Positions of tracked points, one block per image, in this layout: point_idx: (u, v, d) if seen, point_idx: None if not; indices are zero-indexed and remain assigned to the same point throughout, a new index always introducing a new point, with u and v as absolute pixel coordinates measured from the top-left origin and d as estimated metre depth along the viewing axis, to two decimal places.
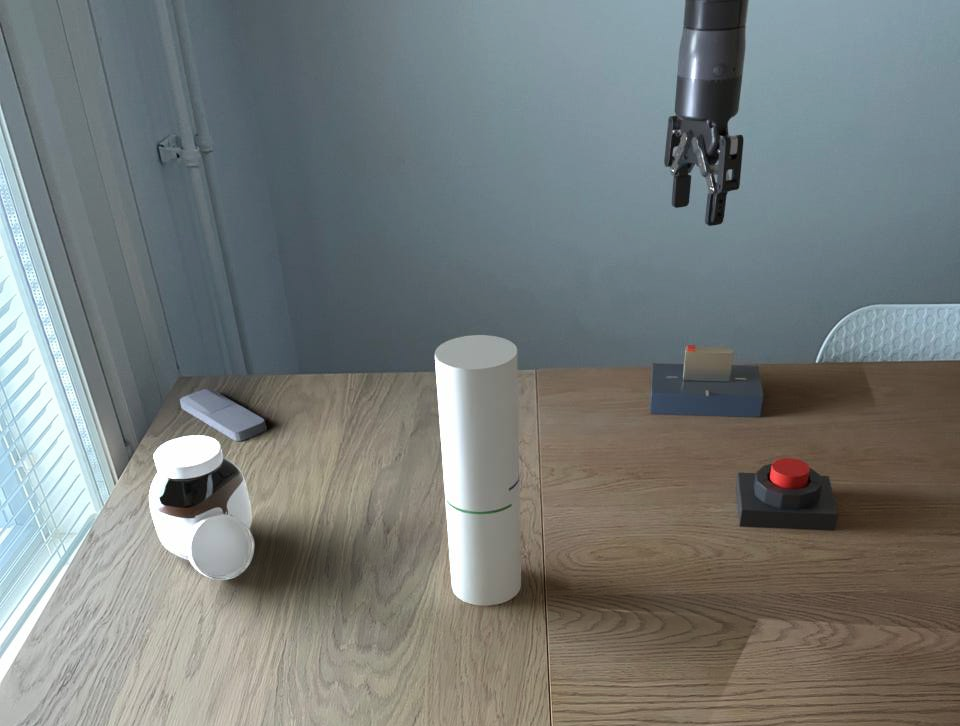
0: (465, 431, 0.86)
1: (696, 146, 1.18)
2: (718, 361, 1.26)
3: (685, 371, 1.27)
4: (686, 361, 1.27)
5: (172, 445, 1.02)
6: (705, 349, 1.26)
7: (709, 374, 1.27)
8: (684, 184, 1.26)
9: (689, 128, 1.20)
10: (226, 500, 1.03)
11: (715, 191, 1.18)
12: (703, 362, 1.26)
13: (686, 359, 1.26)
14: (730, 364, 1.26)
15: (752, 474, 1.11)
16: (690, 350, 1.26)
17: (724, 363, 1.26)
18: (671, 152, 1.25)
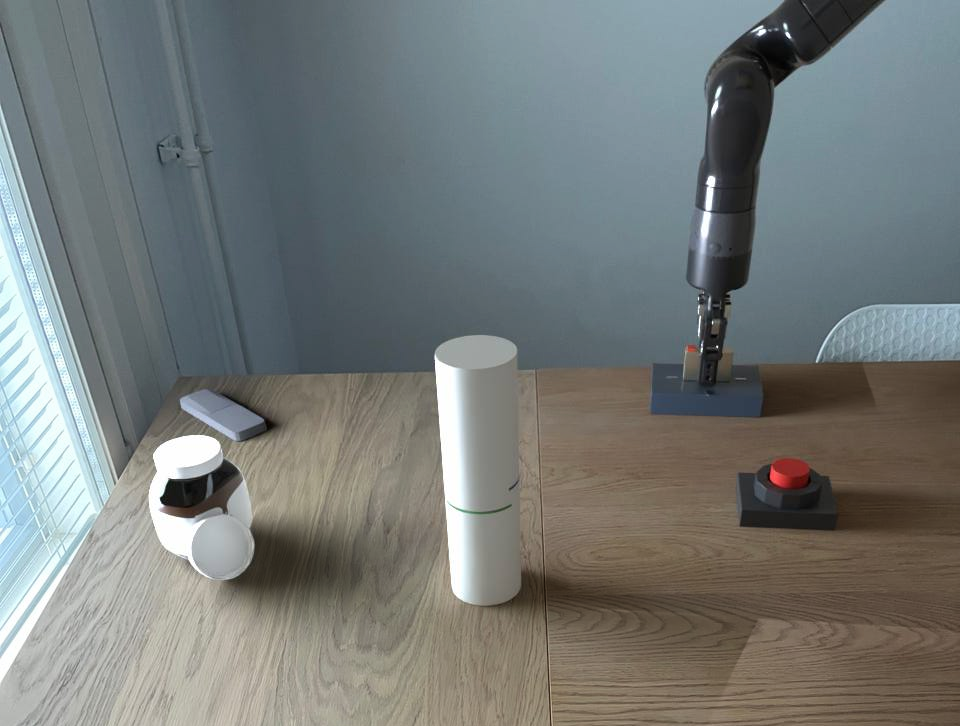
0: (465, 431, 0.86)
1: (698, 310, 1.22)
2: (718, 361, 1.26)
3: (685, 371, 1.27)
4: (686, 361, 1.27)
5: (172, 445, 1.02)
6: None
7: None
8: None
9: None
10: (226, 500, 1.03)
11: None
12: None
13: (686, 359, 1.26)
14: (730, 364, 1.26)
15: (752, 474, 1.11)
16: (690, 350, 1.26)
17: (724, 363, 1.26)
18: None
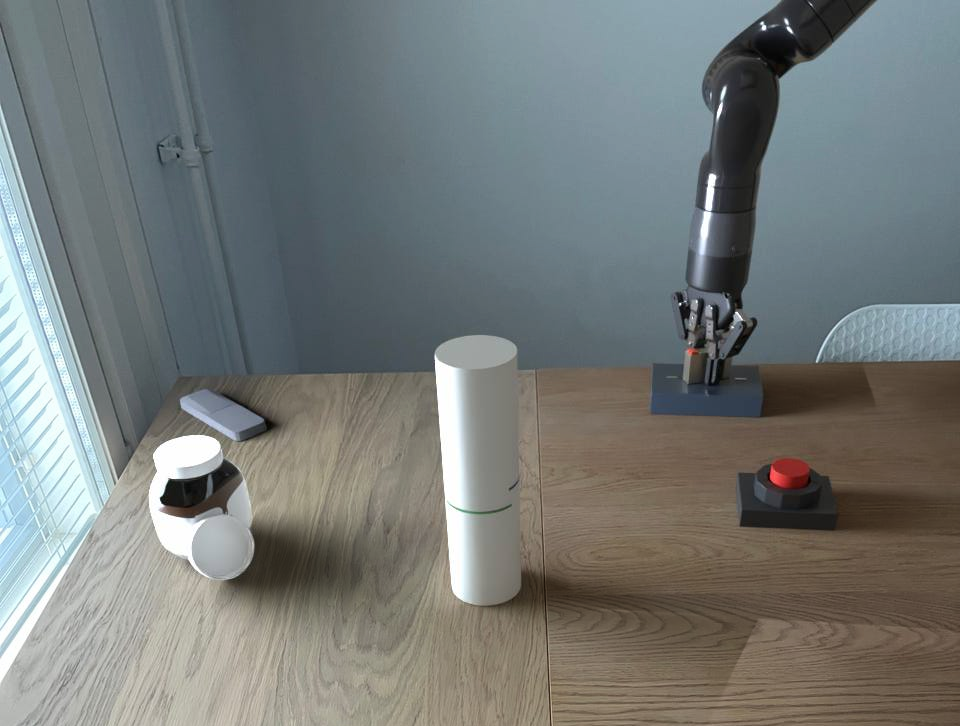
0: (465, 431, 0.86)
1: (711, 314, 1.20)
2: None
3: (690, 375, 1.27)
4: (691, 365, 1.26)
5: (172, 445, 1.02)
6: (706, 350, 1.26)
7: None
8: None
9: (698, 294, 1.22)
10: (226, 500, 1.03)
11: (716, 357, 1.24)
12: (706, 363, 1.26)
13: (691, 363, 1.25)
14: (730, 360, 1.27)
15: (752, 474, 1.11)
16: (694, 353, 1.25)
17: (725, 361, 1.27)
18: (683, 324, 1.26)
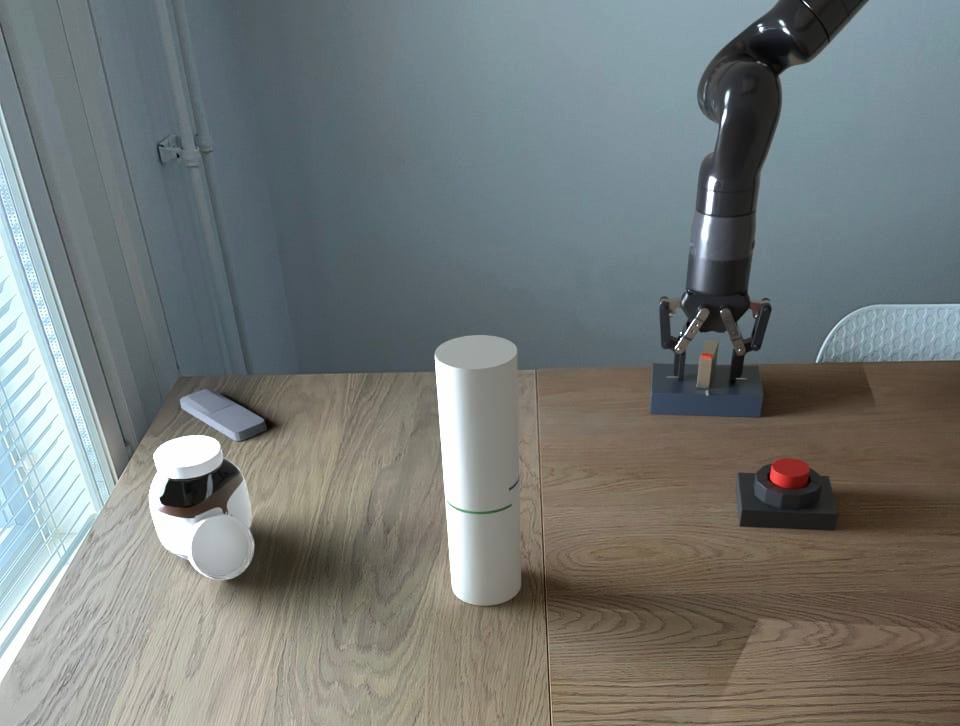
0: (465, 431, 0.86)
1: (729, 316, 1.21)
2: (716, 355, 1.27)
3: (710, 379, 1.25)
4: (711, 368, 1.25)
5: (172, 445, 1.02)
6: (710, 350, 1.25)
7: (713, 371, 1.28)
8: None
9: (702, 303, 1.21)
10: (226, 500, 1.03)
11: (744, 351, 1.24)
12: (713, 362, 1.26)
13: (711, 367, 1.24)
14: (717, 353, 1.29)
15: (752, 474, 1.11)
16: (711, 357, 1.24)
17: (716, 355, 1.28)
18: (670, 333, 1.24)
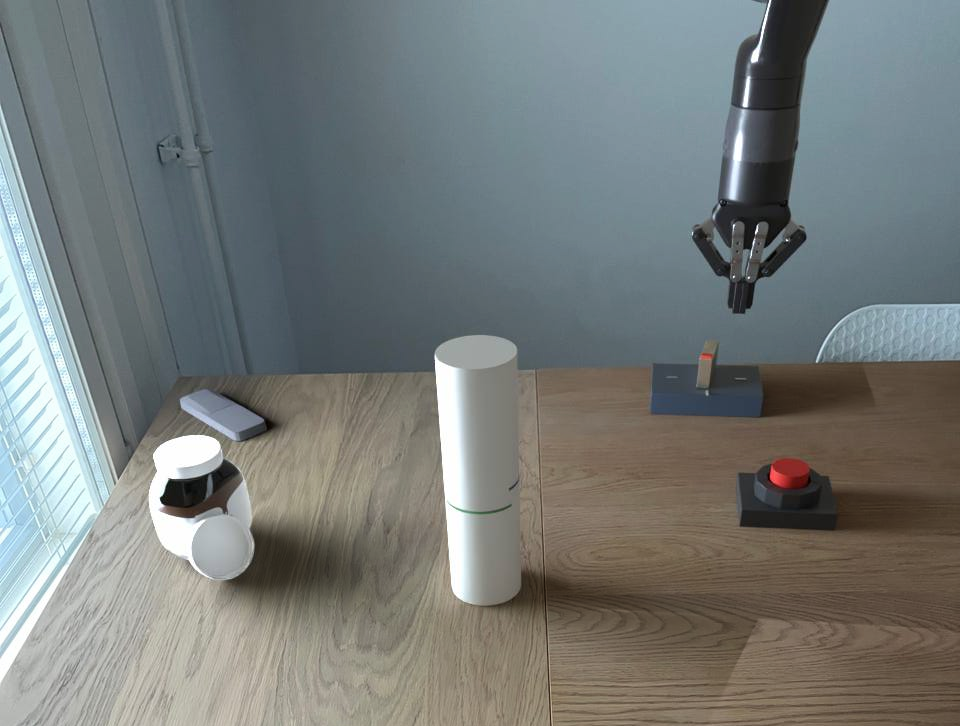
0: (465, 431, 0.86)
1: (766, 230, 1.07)
2: (716, 355, 1.27)
3: (710, 379, 1.25)
4: (711, 368, 1.25)
5: (172, 445, 1.02)
6: (710, 350, 1.25)
7: (713, 371, 1.28)
8: None
9: (736, 216, 1.07)
10: (226, 500, 1.03)
11: (755, 278, 1.11)
12: (713, 362, 1.26)
13: (711, 367, 1.24)
14: (717, 353, 1.29)
15: (752, 474, 1.11)
16: (711, 357, 1.24)
17: (716, 355, 1.28)
18: (719, 258, 1.10)
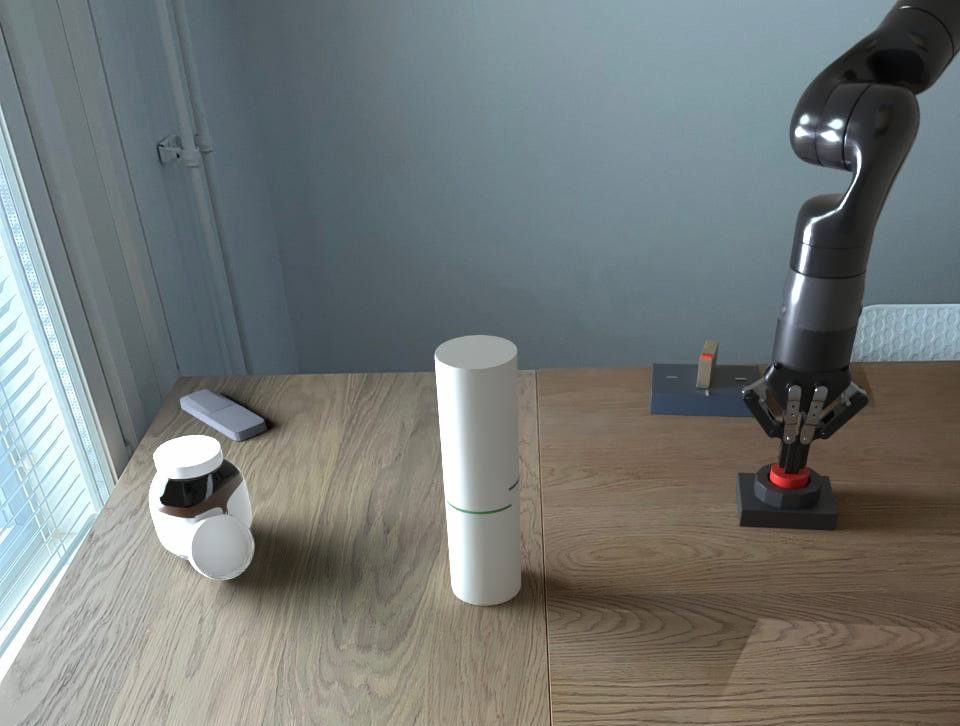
0: (465, 431, 0.86)
1: (825, 395, 0.98)
2: (716, 355, 1.27)
3: (710, 379, 1.25)
4: (711, 368, 1.25)
5: (172, 445, 1.02)
6: (710, 350, 1.25)
7: (713, 371, 1.28)
8: None
9: (792, 379, 0.98)
10: (226, 500, 1.03)
11: None
12: (713, 362, 1.26)
13: (711, 367, 1.24)
14: (717, 353, 1.29)
15: (752, 474, 1.11)
16: (711, 357, 1.24)
17: (716, 355, 1.28)
18: (771, 419, 1.02)
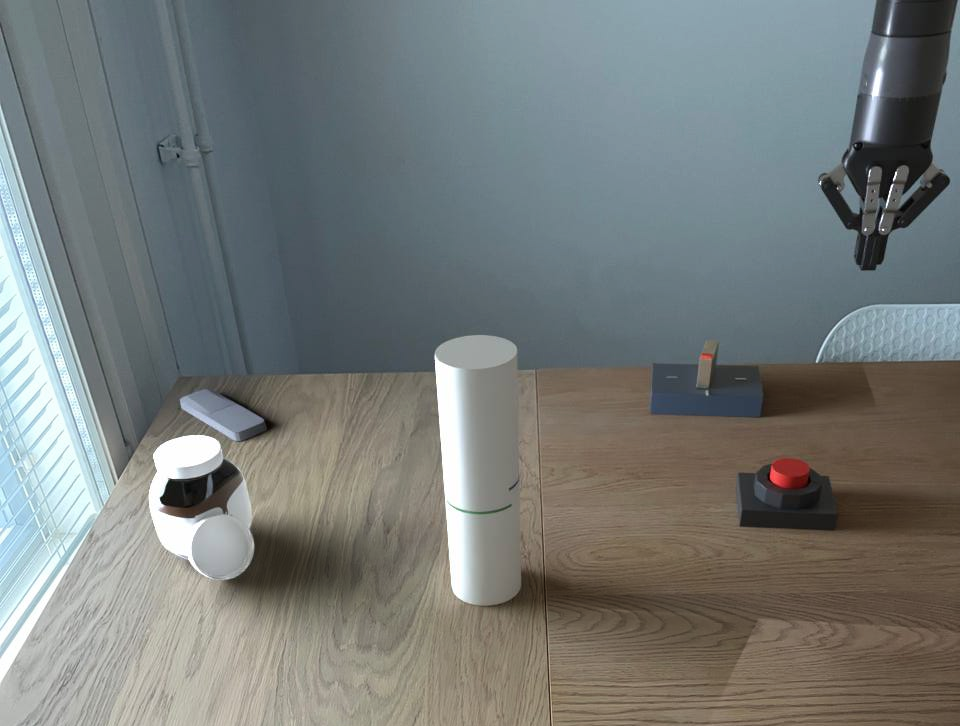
0: (465, 431, 0.86)
1: (906, 175, 0.97)
2: (716, 355, 1.27)
3: (710, 379, 1.25)
4: (711, 368, 1.25)
5: (172, 445, 1.02)
6: (710, 350, 1.25)
7: (713, 371, 1.28)
8: None
9: (872, 160, 0.97)
10: (226, 500, 1.03)
11: None
12: (713, 362, 1.26)
13: (711, 367, 1.24)
14: (717, 353, 1.29)
15: (752, 474, 1.11)
16: (711, 357, 1.24)
17: (716, 355, 1.28)
18: (849, 209, 1.00)
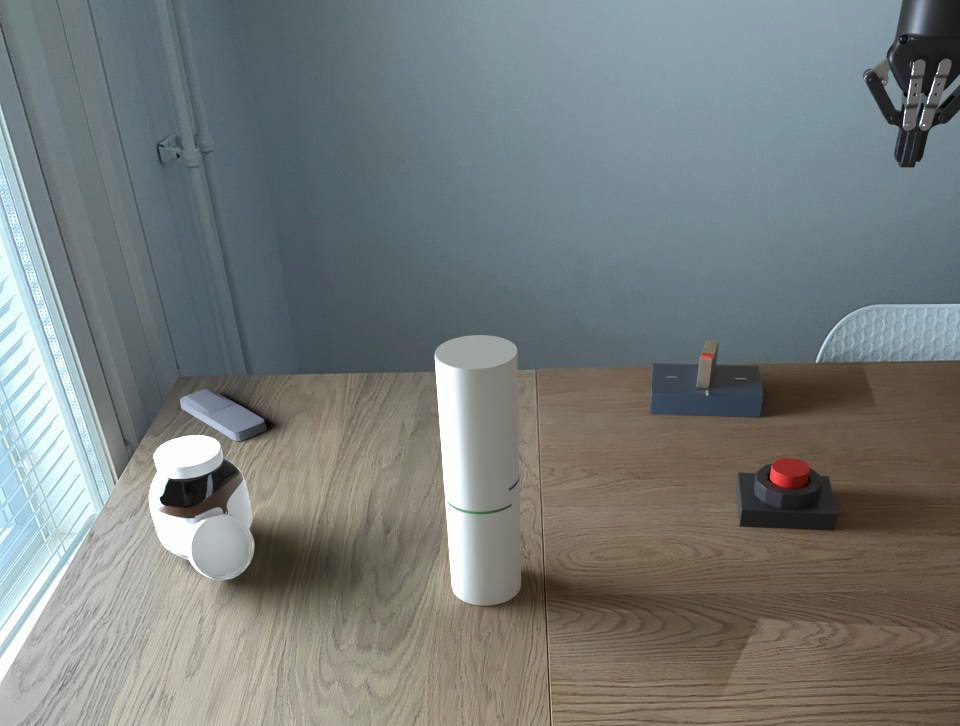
0: (465, 431, 0.86)
1: (949, 68, 1.01)
2: (716, 355, 1.27)
3: (710, 379, 1.25)
4: (711, 368, 1.25)
5: (172, 445, 1.02)
6: (710, 350, 1.25)
7: (713, 371, 1.28)
8: None
9: (916, 54, 1.01)
10: (226, 500, 1.03)
11: None
12: (713, 362, 1.26)
13: (711, 367, 1.24)
14: (717, 353, 1.29)
15: (752, 474, 1.11)
16: (711, 357, 1.24)
17: (716, 355, 1.28)
18: (892, 103, 1.04)
